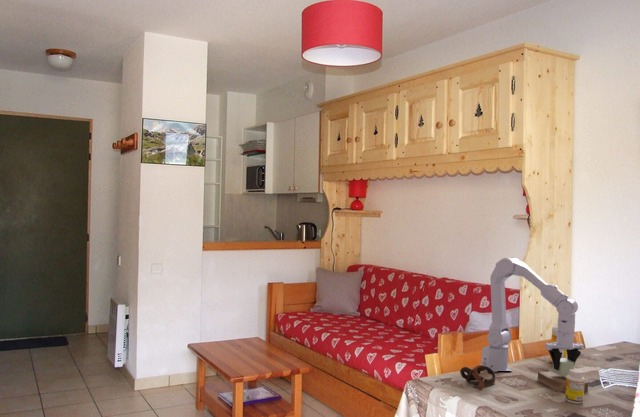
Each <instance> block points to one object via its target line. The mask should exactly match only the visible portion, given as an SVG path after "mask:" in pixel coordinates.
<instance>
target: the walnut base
mask: <svg viewBox="0 0 640 417" xmlns="http://www.w3.org/2000/svg"><path fill="white" fill-rule="evenodd" d="M566 378H567V376H560V375H558V374H556V373H554V372H552V371H538V372H537V381H538V382H540V383H542V384H544V385H545V386H547V387H549V388H551V389H552V390H554V391H556V392H566ZM588 391H589V382H587V381H586V380H585V384H584V392H588Z"/></svg>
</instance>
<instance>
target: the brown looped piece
mask: <svg viewBox="0 0 640 417" xmlns="http://www.w3.org/2000/svg"><path fill="white" fill-rule="evenodd" d="M485 371H486V372H487V373H488V374H490V375H491V376H492V378H485V377H484V376H482V375H481V373H482V372H485ZM459 373H460V376H461V378H462V379H464V380H465V381H466V383H470V382H472V381H477V382H478V385H477V387H476V388H477V389H478V390H480V391H482V390H484V389H488V388H490V387H492V386H494V384H496V372H493V370H492V369H490V368H489V367H487V366H484V365H481V364H478V365H476V366H475V367H473V368H469V367H468V366H464V367H461V369H460V370H459Z"/></svg>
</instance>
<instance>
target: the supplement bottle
mask: <svg viewBox="0 0 640 417" xmlns="http://www.w3.org/2000/svg"><path fill="white" fill-rule="evenodd" d="M585 381H586V379H585V377H583V371H582V370H580V369H576V368H574V369H570V372H569V375H567V378H566V391H565V396H564V398H565V400H566V401H567V402H569V403H572V404H578V405H579V404H582V403H584V401H585V400H584V399H585V398H584V396H585V391H584V384H585Z"/></svg>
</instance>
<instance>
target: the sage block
mask: <svg viewBox="0 0 640 417" xmlns="http://www.w3.org/2000/svg"><path fill="white" fill-rule="evenodd" d="M574 367H575V364H574V362H573V361H571V360H568V359H567V357H566V358H561V359H560V367H559V370H556V369H554V367H553V366H552V371H551V372H554V373H556V374H558V375H560V376H567V375H569V372H570V369H575V368H574Z"/></svg>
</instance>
